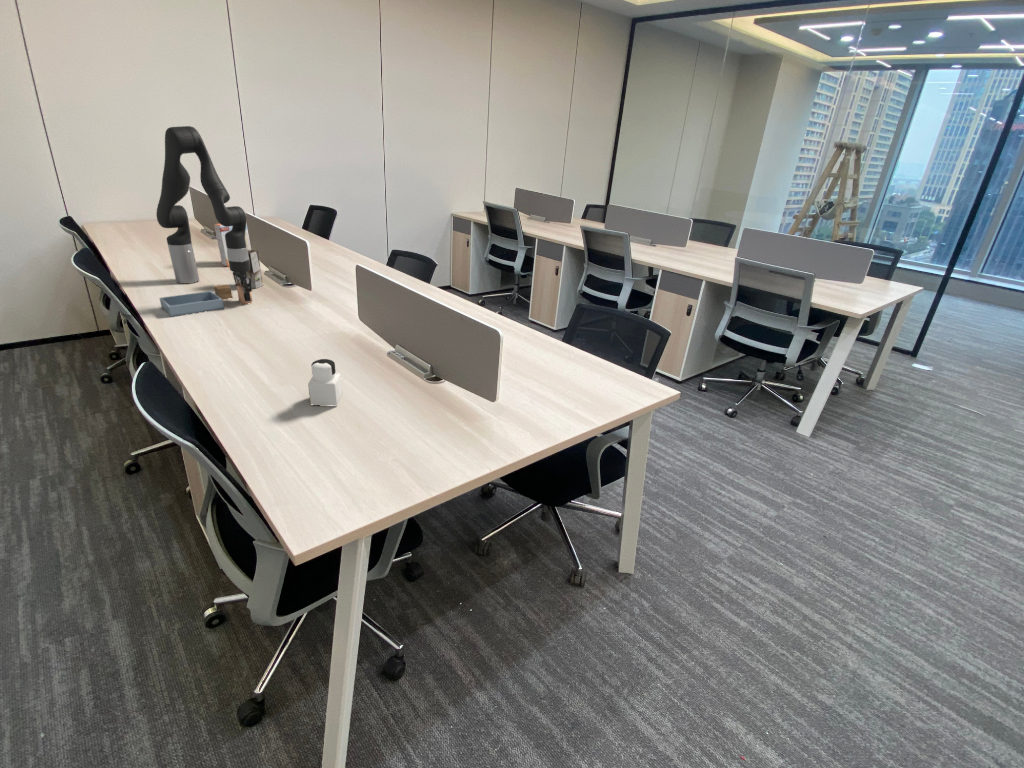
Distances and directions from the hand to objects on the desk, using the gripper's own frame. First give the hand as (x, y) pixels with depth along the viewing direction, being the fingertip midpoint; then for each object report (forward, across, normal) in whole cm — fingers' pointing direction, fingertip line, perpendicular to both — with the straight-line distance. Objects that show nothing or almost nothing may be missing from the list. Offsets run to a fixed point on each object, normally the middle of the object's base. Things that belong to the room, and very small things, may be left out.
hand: (245, 299), depth 213 cm
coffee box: (+2, -23, +10) cm, 25 cm away
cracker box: (+2, -66, +19) cm, 69 cm away
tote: (+1, -3, -19) cm, 19 cm away
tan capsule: (+1, 0, 0) cm, 1 cm away
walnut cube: (+2, -11, -5) cm, 12 cm away
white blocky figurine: (+2, +99, -13) cm, 100 cm away
